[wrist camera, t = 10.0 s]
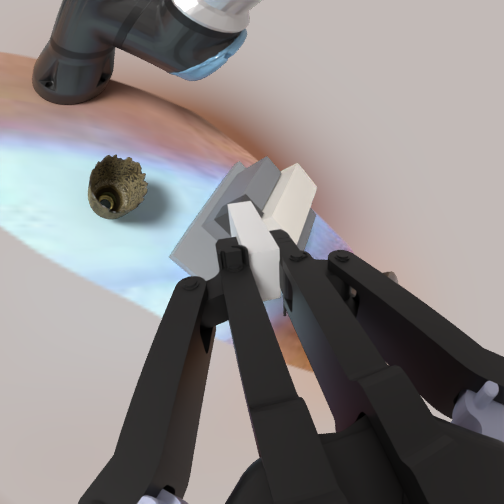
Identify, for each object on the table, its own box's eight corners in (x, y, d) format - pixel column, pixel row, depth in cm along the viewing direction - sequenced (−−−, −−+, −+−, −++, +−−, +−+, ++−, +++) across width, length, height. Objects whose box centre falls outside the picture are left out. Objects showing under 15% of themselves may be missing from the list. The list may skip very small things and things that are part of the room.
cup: (132, 187, 38) (152, 162, 32) (125, 234, 36) (144, 217, 30) (86, 176, 33) (98, 147, 27) (76, 225, 31) (84, 204, 25)
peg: (263, 253, 46) (296, 244, 41) (239, 229, 43) (271, 216, 38) (288, 199, 53) (317, 187, 48) (269, 177, 51) (297, 162, 46)
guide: (244, 318, 47) (291, 316, 40) (168, 257, 40) (206, 240, 32) (287, 221, 60) (326, 207, 53) (234, 164, 53) (272, 140, 45)
